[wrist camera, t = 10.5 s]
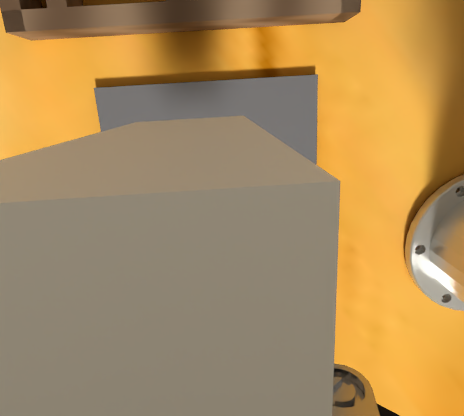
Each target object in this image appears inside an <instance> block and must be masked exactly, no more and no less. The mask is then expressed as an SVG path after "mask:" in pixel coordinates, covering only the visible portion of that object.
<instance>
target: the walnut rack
mask: <svg viewBox="0 0 464 416" xmlns="http://www.w3.org/2000/svg"><path fill="white" fill-rule="evenodd" d="M46 4H47V8H42V4H41V0H0V8H1V13H2V17H3V21H4V26H5V30H6V33H9V34H12V35H16V36H19V37H22V38H25V39H28V40H45V39H62V38H80V37H97V36H114V35H131V34H148V33H165V32H182V31H199V30H216V29H233V28H251V27H268V26H285V25H302V24H319V23H336V22H345V21H347V20H348V19H350V18H351V17H353V16H355V15H356V14H358V13H359V12H360V9H361V0H166V1H162V2H144V3H127V4H110V5H92V6H83V0H46Z"/></svg>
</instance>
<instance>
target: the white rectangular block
mask: <svg viewBox="0 0 464 416" xmlns="http://www.w3.org/2000/svg"><path fill="white" fill-rule="evenodd" d="M339 201H340V181H339V180H338V179H336V178H335V177H333V176H332V175H330V174H329V173H327V172H326V171H325V170H323V169H322V168H320V167H319V166H317V165H316V164H314V163H313V162H311V161H310V160H308V159H307V158H305V157H304V156H302V155H301V154H299V153H298V152H296V151H295V150H293V149H292V148H291V147H289V146H288V145H286V144H285V143H283V142H282V141H280V140H279V139H277V138H276V137H274V136H273V135H271V134H270V133H268V132H267V131H265V130H264V129H262V128H261V127H260V126H258V125H257V124H255V123H254V122H252V121H251V120H249V119H248V118H246V117H245V116H229V117H213V118H197V119H181V120H164V121H148V122H135V123H132V124H128V125H124V126H121V127H117V128H114V129H110V130H107V131H103V132H99V133H96V134H92V135H89V136H85V137H82V138H78V139H74V140H71V141H67V142H64V143H60V144H56V145H53V146H49V147H46V148H42V149H39V150H35V151H31V152H28V153H24V154H21V155H17V156H14V157H10V158H6V159H3V160H0V416H332V404H333V375H334V346H335V317H336V288H337V259H338V230H339Z"/></svg>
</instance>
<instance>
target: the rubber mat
mask: <svg viewBox="0 0 464 416" xmlns="http://www.w3.org/2000/svg"><path fill="white" fill-rule="evenodd" d="M317 84H318V75H301V76H285V77H268V78H251V79H235V80H218V81H201V82H185V83H168V84H151V85H135V86H118V87H101V88H94V91H95V97H96V104H97V110H98V116H99V122H100V128H101V132H103V131H107V130H110V129H114V128H117V127H121V126H124V125H128V124H132V123H135V122H148V121H164V120H181V119H197V118H213V117H229V116H245V117H246V118H248V119H249V120H251V121H252V122H254V123H255V124H257V125H258V126H260V127H261V128H262V129H264V130H265V131H267V132H268V133H270V134H271V135H273V136H274V137H276V138H277V139H279V140H280V141H282V142H283V143H285V144H286V145H288V146H289V147H291V148H292V149H293V150H295V151H296V152H298V153H299V154H301V155H302V156H304V157H305V158H307V159H308V160H310V161H311V162H313V163H314V164H316V160H317Z"/></svg>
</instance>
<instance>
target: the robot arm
mask: <svg viewBox="0 0 464 416" xmlns="http://www.w3.org/2000/svg"><path fill="white" fill-rule="evenodd" d="M405 259H406V265H407V268H408V272H409V274H410V276H411V278H412V280H413V281H414V283H415V284H416V286H417V287H418V288H419V289H420V290H421V291H422V292H423V293H424V294H425V295H426V296H428V297H429V298H430V299H431V300H432V301H434V302H436V303H437V304H439V305H441V306H443V307H447V308H450V309H453V310H460V311H464V174H463V175H461V176H459V177H456V178H454V179H452V180H451V181H449V182H448V183H446V184H445V185H443V186H441V187H440V188H439V189H438V190H437V191H436V192H434V193H433V194H432V195H431V196H430V197H429V198H428V199H427V200H426V202H425V203H424V204H423V205H422V206H421V208H420V209H419V210H418V212H417V214H416V216H415V217H414V219H413V221H412V223H411V226H410V228H409V231H408V234H407V238H406V245H405ZM332 416H399V415H397V414H396V413H394V412H392V411H390V410H388V409H386V408H384V407H382V406H380V405H379V404H377V403H376V400H375V397H374V393H373V390H372V387H371V385H370V383H369V381H368V380H367V379H366V378H365V377H364V376H363V375H362V374H361V373H359V372H358V371H356V370H355V369H353V368H350V367H348V366H345V365H339V364H334V375H333V404H332Z"/></svg>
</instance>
